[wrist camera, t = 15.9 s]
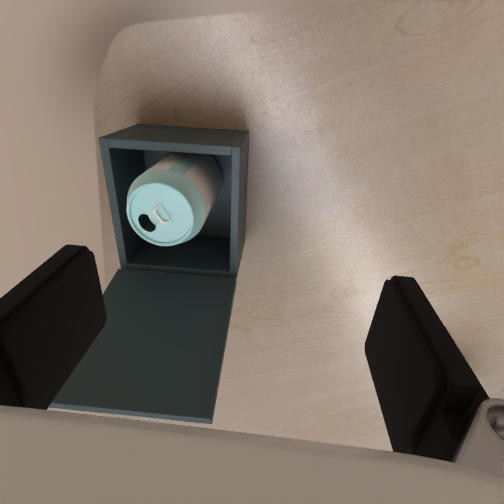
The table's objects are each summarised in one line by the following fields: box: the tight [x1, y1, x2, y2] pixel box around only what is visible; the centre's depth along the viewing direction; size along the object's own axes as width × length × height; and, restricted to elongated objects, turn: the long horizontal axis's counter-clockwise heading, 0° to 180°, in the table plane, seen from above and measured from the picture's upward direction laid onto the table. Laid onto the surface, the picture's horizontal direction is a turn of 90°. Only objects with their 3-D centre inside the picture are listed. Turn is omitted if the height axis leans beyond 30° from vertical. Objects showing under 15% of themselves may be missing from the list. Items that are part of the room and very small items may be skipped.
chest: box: [99, 124, 249, 278], centre depth 36 cm, size 14×13×9 cm
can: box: [127, 152, 222, 246], centre depth 33 cm, size 7×7×12 cm
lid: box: [49, 269, 236, 424], centre depth 30 cm, size 14×13×5 cm
